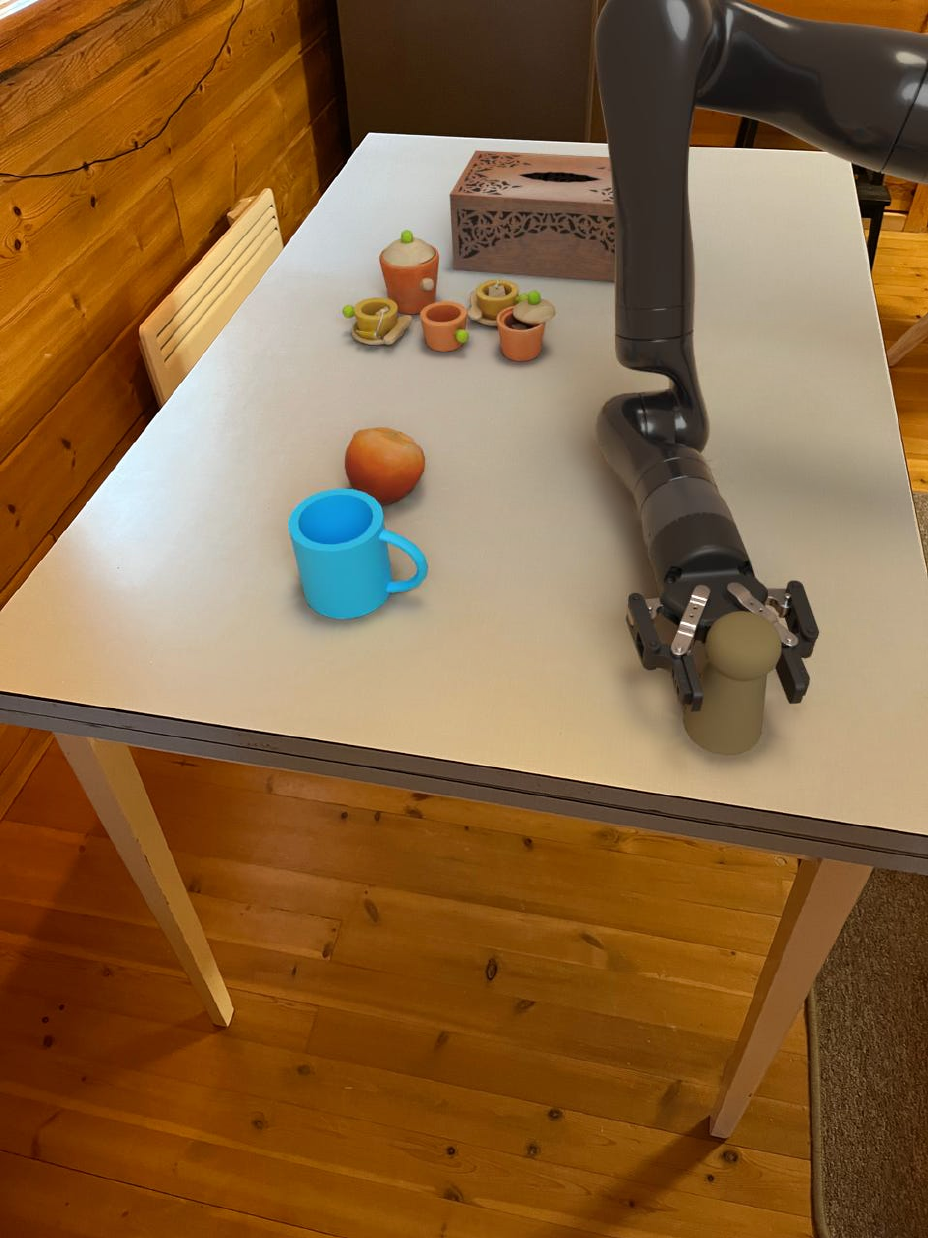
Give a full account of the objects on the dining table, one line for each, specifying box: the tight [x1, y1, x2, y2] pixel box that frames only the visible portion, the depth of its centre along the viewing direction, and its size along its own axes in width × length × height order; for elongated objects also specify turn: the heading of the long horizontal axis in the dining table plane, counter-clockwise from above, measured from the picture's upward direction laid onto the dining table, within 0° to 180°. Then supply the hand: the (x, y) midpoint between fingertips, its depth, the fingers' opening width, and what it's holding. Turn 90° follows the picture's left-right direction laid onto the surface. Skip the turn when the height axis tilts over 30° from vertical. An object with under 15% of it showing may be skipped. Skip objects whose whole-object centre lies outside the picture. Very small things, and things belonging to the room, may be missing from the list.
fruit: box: [344, 426, 426, 506], centre depth 92 cm, size 8×8×8 cm
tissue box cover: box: [449, 150, 615, 283], centre depth 124 cm, size 26×14×10 cm, turn 76°
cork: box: [683, 611, 781, 756], centre depth 69 cm, size 6×6×11 cm
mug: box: [287, 488, 429, 620], centre depth 82 cm, size 12×8×8 cm
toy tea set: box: [342, 229, 557, 362], centre depth 112 cm, size 26×16×10 cm, turn 72°
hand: (747, 700), depth 66 cm, fingers open, 6 cm apart
